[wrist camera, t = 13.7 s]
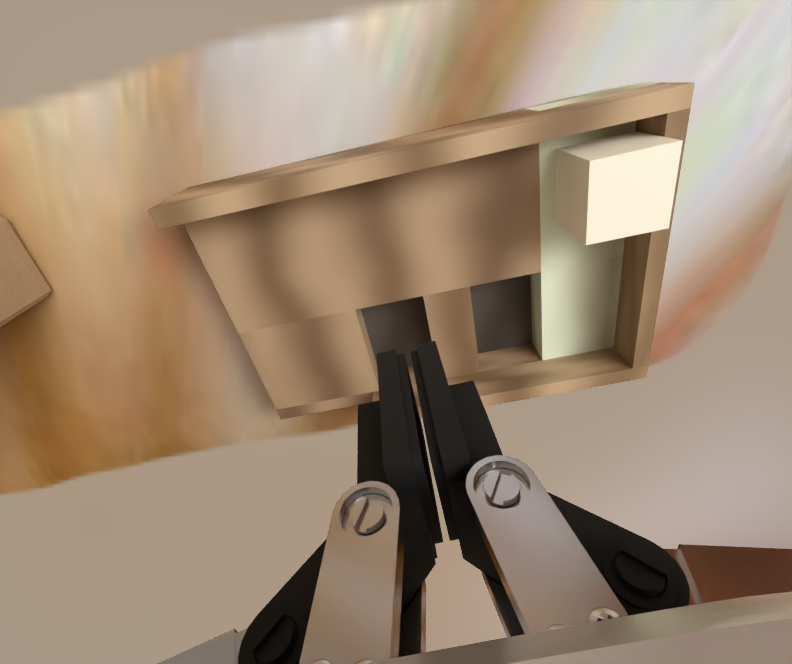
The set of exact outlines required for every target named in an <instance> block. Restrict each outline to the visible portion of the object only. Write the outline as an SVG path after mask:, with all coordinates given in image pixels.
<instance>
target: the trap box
mask: <svg viewBox="0 0 792 664" xmlns="http://www.w3.org/2000/svg"><path fill="white" fill-rule="evenodd" d="M693 89H694V83H629V84H625V85H621V86H617V87H612V88H608V89H604V90H600V91H596V92H591V93H587V94H583V95H579V96H574V97H570V98H566V99H562V100H557V101H553V102H549V103H545V104H540V105H536V106H532V107H528V108H523V109H519V110H515V111H511V112H506V113H502V114H498V115H494V116H490V117H485V118H481V119H477V120H473V121H468V122H464V123H460V124H456V125H451V126H447V127H443V128H439V129H434V130H430V131H426V132H422V133H417V134H413V135H409V136H405V137H400V138H396V139H392V140H388V141H384V142H379V143H375V144H371V145H367V146H362V147H358V148H354V149H350V150H345V151H341V152H337V153H333V154H328V155H324V156H320V157H316V158H311V159H307V160H303V161H299V162H294V163H290V164H286V165H282V166H278V167H273V168H269V169H265V170H261V171H256V172H252V173H248V174H244V175H239V176H235V177H231V178H227V179H222V180H218V181H214V182H210V183H205V184H201V185H197V186H193V187H189V188H187V189H185V190H183V191H181V192H179V193H178V194H176V195H174V196H172V197H170V198H169V199H167V200H165V201H163V202H161V203H160V204H158V205H156V206H154V207H152V208H150V209H149V210H148V212H149V214H150V216H151V217H152V219H153V221H154V223H155V225H156V227H157V229H163V228H167V227H172V226H176V225H180V224H183V225H184V227H185V229H186V231H187V233H188V235H189V237H190V239H191V240H192V242H193V244H194V246H195V248H196V250H197V252H198V254H199V256H200V258H201V260H202V262H203V264H204V266H205V268H206V270H207V272H208V274H209V276H210V278H211V280H212V282H213V284H214V286H215V288H216V290H217V292H218V294H219V296H220V298H221V300H222V302H223V304H224V306H225V308H226V310H227V312H228V314H229V316H230V318H231V320H232V322H233V324H234V326H235V328H236V330H237V332H238V334H239V336H240V338H241V340H242V342H243V344H244V346H245V348H246V350H247V352H248V354H249V356H250V358H251V360H252V362H253V364H254V366H255V368H256V370H257V372H258V374H259V376H260V378H261V380H262V382H263V384H264V386H265V388H266V390H267V392H268V394H269V396H270V398H271V400H272V402H273V404H274V406H275V408H276V410H277V412H278V414H279V416H280V418H281V419H284V418H290V417H295V416H301V415H306V414H312V413H317V412H323V411H328V410H333V409H339V408H344V407H350V406H355V405H359V404H364V403H368V402H373V401H378V400H379V386H378V369H377V353H381V352H385V351H390V350H395V349H396V352H397V354H400V353H404V354H405V358H406V362H407V366H408V370H409V375H410V379H411V383H412V387H413V391H414V395H415V399H416V404H417V408H418V412H419V416H420V418H423V417H422V412H421V407H420V401H419V396H418V391H417V386H416V380H415V375H414V370H413V364H412V359H411V354H410V351H414V350H417V345H418V344H422V343H427V342H431V341H435V342H436V345H437V348H438V351H439V355H440V358H441V361H442V365H443V368H444V371H445V375H446V378H447V382H448V385H453V384H458V383H463V382H468V381H472V380H473V381H474V383H475V385H476V388H477V391H478V393H479V396H480V398H481V401H482V403H483V406H490V405H496V404H501V403H507V402H512V401H518V400H524V399H529V398H535V397H540V396H546V395H552V394H557V393H562V392H568V391H574V390H580V389H585V388H590V387H596V386H602V385H608V384H613V383H619V382H624V381H630V380H636V379H641V378H646V377H647V371H648V366H649V359H650V353H651V347H652V341H653V335H654V329H655V323H656V316H657V310H658V304H659V298H660V292H661V286H662V280H663V273H664V267H665V261H666V255H667V249H668V243H669V237H670V230H671V224H672V218H673V212H674V206H675V200H676V194H677V187H678V181H679V175H680V169H681V163H682V157H683V150H684V144H685V138H686V132H687V126H688V120H689V114H690V107H691V101H692V95H693ZM631 131H637V132H642V133H647V134H653V135H658V136H663V137H668V138H674V139H679V140H683V142H682V148H681V155H680V161H679V167H678V174H677V180H676V186H675V192H674V199H673V205H672V211H671V218H670V224H669V228H668V229H663V230H658V231H653V232H648V233H643V234H639V235H634V236H629V237H624V238H619V239H614V240H610V241H605V242H600V243H595V244H590V245H585V244H583V243H582V242H581V241H580V240H578V239H577V238H576V237H575V236H573V235H572V234H571V233H570V232H568V231H567V230H566V229H564V228H563V227H562V226H561V225H559V224H558V223H557V222H556V148H560V147H565V146H569V145H573V144H578V143H582V142H587V141H591V140H595V139H600V138H604V137H609V136H613V135H617V134H622V133H626V132H631Z"/></svg>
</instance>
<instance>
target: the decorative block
mask: <svg viewBox="0 0 792 664" xmlns="http://www.w3.org/2000/svg"><path fill="white" fill-rule="evenodd" d="M50 292H51V289H50V287H49V286H48V284H47V283H46V281H45V279H44V278H43V276H42V275H41V273H40V271H39V270H38V268H37V267H36V265H35V263H34V262H33V260H32V259H31V257H30V255H29V254H28V252H27V251H26V249H25V247H24V246H23V244H22V243H21V241H20V240H19V238H18V236H17V235H16V233H15V232H14V230H13V228H12V227H11V225H10V224H9V222H8V220H7V219H6V218H4V217H2V216H0V327H1V326H3V325H4V324H6V323H7V322H9V321H10V320H12V319H14V318H15V317H17V316H18V315H20V314H21V313H23V312H24V311H26V310H27V309H29V308H30V307H32V306H34V305H35V304H37V303H38V302H40V301H41V300H43V299H44V298H46V297H47V296H49V294H50Z"/></svg>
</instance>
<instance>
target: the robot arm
mask: <svg viewBox="0 0 792 664" xmlns="http://www.w3.org/2000/svg"><path fill="white" fill-rule="evenodd" d="M410 354H411V359H412V364H413V370H414V375H415V380H416V386H417V391H418V396H419V401H420V407H421V412H422V417H423V423H424V428H425V433H426V438H427V444H428V448H429V454H430V459H431V463H432V468H433V472H434V476H435V480H436V484H437V488H438V492H439V497H440V500H441V505H442V509H443V513H444V518H445V522H446V526H447V530H448V534H449V538H450V540H456V539H459V541H460V546H461V550H462V554H463V558H464V559H465V560H466V561H468V562H469V563H471V564H472V565H474V566H475V567H477V568H478V569H480V570H481V572H482V576H483V579H484V581H485V584H486V586H487V589H488V591H489V594H490V596H491V598H492V601H493V603H494V606H495V608H496V611H497V613H498V616H499V618H500V621H501V623H502V626H503V628H504V631H505V633H506V636H507V638H502V639H497V640H491V641H485V642H480V643H474V644H469V645H464V646H458V647H452V648H447V649H442V650H436V651H431V652H426V583H425V579H426V577H427V576H428V574H429V573H430V571H431V570H432V568H433V567H434V565H435V564H436V563H435V558H437V555H436V548H435V543H440V542H443V539H442V533H441V528H440V522H439V516H438V511H437V506H436V500H435V495H434V489H433V484H432V478H431V473H430V467H429V462H428V456H427V451H426V445H425V440H424V435H423V429H422V425H421V420H420V416H419V412H418V408H417V404H416V399H415V395H414V391H413V387H412V383H411V379H410V375H409V370H408V366H407V362H406V358H405V354H404V353H400V354H397V352H396V349H395V350H390V351H385V352H381V353H377V369H378V386H379V400H378V401H373V402H368V403H364V404H359V406H358V470H357V471H358V473H357V474H358V475H357V479H358V480H357V485H355V486H353V487H351V488H350V489H348V490H347V491H346V492H345V493H344V494H343V495H342V496H341V497H340V499H339V500H338V501H337V503H336V505H335V508H334V510H333V513H332V518H331V522H330V527H329V531H328V536H327V539H326V540H325V541H324V542H323V544H322V545H321V546H320V547H319V548H318V549H317V550H316V551H315V553H314V554H313V555H312V556H311V557H310V558H309V559H308V560H307V561H306V562H305V563H304V564H303V565H302V567H301V568H300V569H299V570H298V571H297V572H296V573H295V574H294V575H293V576H292V578H291V579H290V580H289V581H288V582H287V583H286V584H285V585H284V586H283V587H282V589H281V590H280V591H279V592H278V593H277V594H276V595H275V596H274V597H273V598H272V600H271V601H270V602H269V603H268V604H267V605H266V606H265V607H264V608H263V610H262V611H261V612H260V613H259V614H258V615H257V616H256V618H255V619H254V620H253V622H252V623H251V624H250V626H249V627H248V628H247V629H245V630H242V631H240V632H237V631H236V629H233V630H231V631H228V632H226V633H224V634H222V635H220V636H218V637H215V638H213V639H211V640H209V641H206V642H205V643H202V644H200V645H198V646H195V647H193V648H191V649H189V650H187V651H184V652H182V653H180V654H178V655H176V656H173V657H171V658H169V659H167V660H165V661H163V662H160V663H158V664H792V549H777V548H753V547H730V546H706V545H682V544H679V545H678V549H662V548H661V547H659V546H658V545H656V544H655V543H653V542H651V541H649V540H647V539H645V538H643V537H641V536H639V535H636V534H635V533H632V532H631V531H628V530H626V529H624V528H622V527H620V526H618V525H616V524H614V523H612V522H609V521H607V520H605V519H603V518H601V517H599V516H597V515H595V514H593V513H590V512H588V511H586V510H584V509H582V508H580V507H578V506H576V505H574V504H571V503H569V502H567V501H565V500H563V499H561V498H559V497H557V496H555V495H553V494H550V493H548V492H547V491H546V490H545V488H544V487H543V485H542V484H541V482H540V481H539V479H538V478H537V476H536V475H535V473H534V472H533V471H532V470H531V468H530V467H529V466H528V465H527V464H525V463H524V462H522V461H520V460H519V459H516V458H513V457H510V456H503V455H502V452H501V450H500V447H499V445H498V442H497V439H496V437H495V434H494V432H493V429H492V427H491V424H490V421H489V419H488V416H487V414H486V411H485V409H484V406H483V403H482V401H481V398H480V396H479V393H478V391H477V388H476V385H475V383H474V381H473V380H472V381H468V382H463V383H458V384H453V385H448V382H447V378H446V375H445V371H444V368H443V365H442V361H441V358H440V355H439V351H438V348H437V345H436V342H435V341H431V342H427V343H422V344H418V345H417V350H414V351H410Z"/></svg>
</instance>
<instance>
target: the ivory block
mask: <svg viewBox="0 0 792 664" xmlns="http://www.w3.org/2000/svg"><path fill="white" fill-rule="evenodd" d="M682 142H683V140H679V139H674V138H668V137H663V136H658V135H653V134H647V133H642V132H637V131H631V132H626V133H622V134H617V135H613V136H609V137H604V138H600V139H595V140H591V141H587V142H582V143H578V144H573V145H569V146H565V147H560V148H556V222H557V223H558V224H559V225H561V226H562V227H563V228H564V229H566V230H567V231H568V232H570V233H571V234H572V235H573V236H575V237H576V238H577V239H578V240H580V241H581V242H582V243H583V244H585V245H590V244H595V243H600V242H605V241H610V240H614V239H619V238H624V237H629V236H634V235H639V234H643V233H648V232H653V231H658V230H663V229H668V228H669V224H670V218H671V211H672V205H673V199H674V192H675V186H676V180H677V174H678V167H679V161H680V155H681V148H682Z"/></svg>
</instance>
